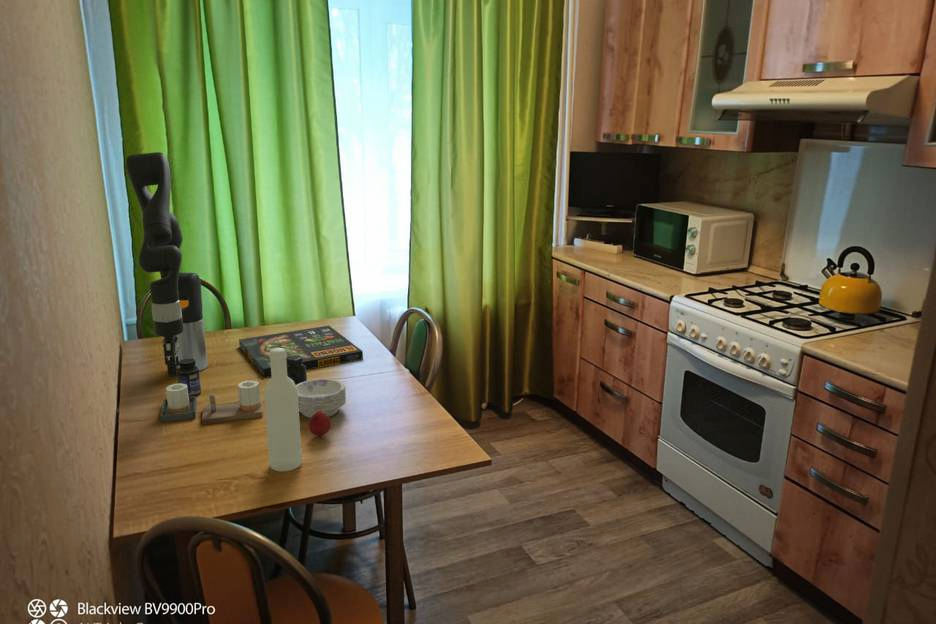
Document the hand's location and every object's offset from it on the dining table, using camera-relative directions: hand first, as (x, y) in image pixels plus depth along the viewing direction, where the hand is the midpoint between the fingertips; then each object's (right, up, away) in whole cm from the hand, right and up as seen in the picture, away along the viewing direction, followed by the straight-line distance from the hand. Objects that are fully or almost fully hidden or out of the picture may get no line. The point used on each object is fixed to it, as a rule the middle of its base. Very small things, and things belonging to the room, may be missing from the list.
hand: (173, 371), depth 188 cm
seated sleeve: (+20, -11, +4) cm, 23 cm away
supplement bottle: (+31, -9, +17) cm, 36 cm away
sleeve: (0, -11, +3) cm, 12 cm away
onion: (+44, -17, -10) cm, 48 cm away
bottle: (+39, -21, -25) cm, 51 cm away
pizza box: (+22, +1, +54) cm, 58 cm away
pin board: (+16, -13, +3) cm, 20 cm away
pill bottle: (-2, -9, +16) cm, 19 cm away
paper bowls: (+41, -13, +5) cm, 43 cm away
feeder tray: (0, -12, +4) cm, 13 cm away
